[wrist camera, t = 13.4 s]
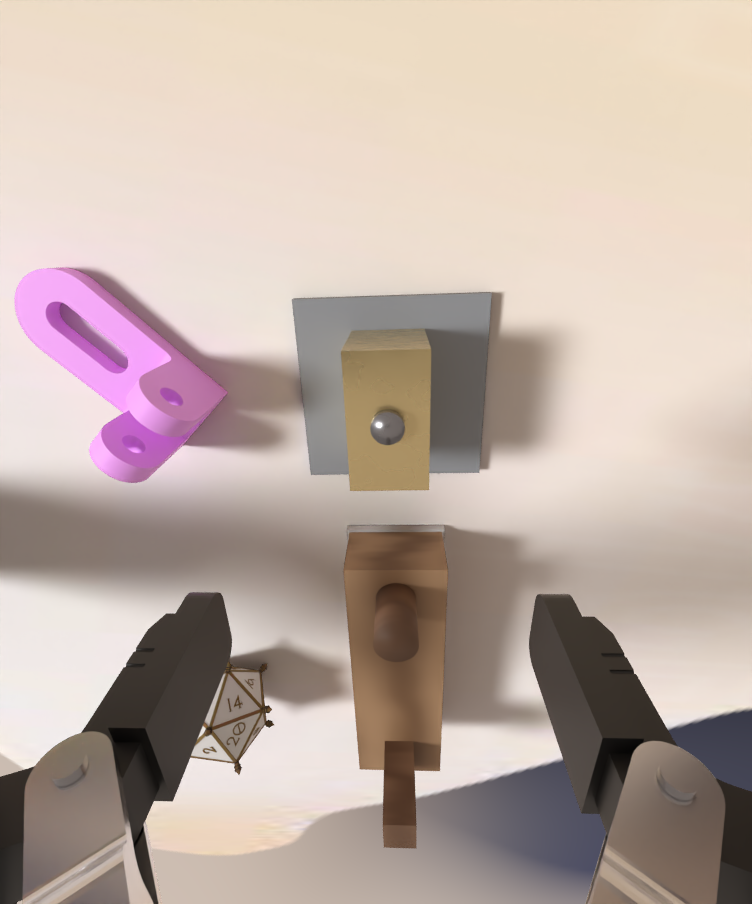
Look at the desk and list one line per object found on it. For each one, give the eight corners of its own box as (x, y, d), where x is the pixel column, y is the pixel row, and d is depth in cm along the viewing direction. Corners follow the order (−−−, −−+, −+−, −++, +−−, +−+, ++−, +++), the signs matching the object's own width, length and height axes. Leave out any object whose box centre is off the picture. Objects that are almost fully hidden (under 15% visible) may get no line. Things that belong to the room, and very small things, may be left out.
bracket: (228, 391, 31) (184, 430, 24) (183, 444, 32) (132, 492, 26) (56, 246, 27) (-48, 247, 21) (16, 314, 29) (-89, 334, 23)
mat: (312, 470, 33) (311, 474, 32) (293, 298, 28) (291, 299, 27) (477, 468, 32) (479, 472, 31) (489, 292, 27) (491, 292, 26)
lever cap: (358, 447, 31) (349, 496, 25) (351, 330, 28) (339, 353, 22) (423, 446, 31) (429, 495, 25) (424, 328, 27) (432, 351, 21)
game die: (243, 624, 44) (213, 646, 35) (302, 688, 44) (289, 729, 34) (172, 695, 43) (120, 739, 33) (232, 763, 42) (197, 829, 32)
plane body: (361, 716, 44) (351, 854, 34) (347, 525, 35) (328, 639, 25) (437, 717, 43) (449, 857, 34) (443, 524, 34) (463, 640, 24)
